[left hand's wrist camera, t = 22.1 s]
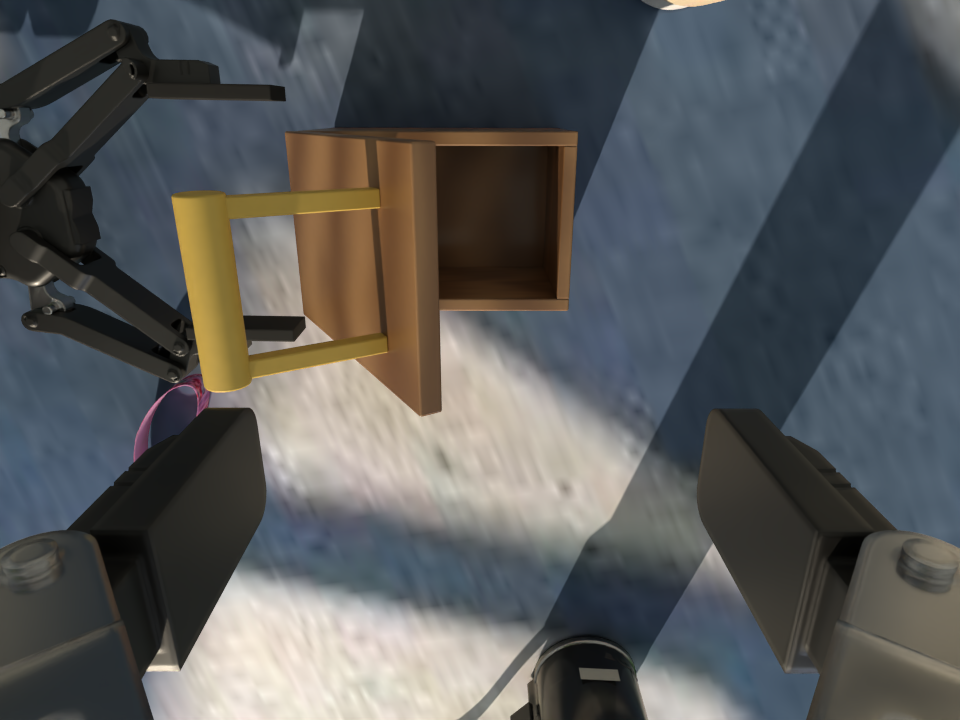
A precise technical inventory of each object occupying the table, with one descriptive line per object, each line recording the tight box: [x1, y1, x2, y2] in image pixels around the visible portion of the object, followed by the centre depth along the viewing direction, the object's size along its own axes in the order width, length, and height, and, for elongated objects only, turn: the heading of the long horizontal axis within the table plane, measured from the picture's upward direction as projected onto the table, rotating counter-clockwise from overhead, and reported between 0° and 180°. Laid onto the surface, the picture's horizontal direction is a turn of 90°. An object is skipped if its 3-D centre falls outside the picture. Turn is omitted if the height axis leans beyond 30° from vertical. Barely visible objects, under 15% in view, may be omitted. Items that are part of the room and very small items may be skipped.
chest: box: [303, 128, 578, 311], centre depth 39 cm, size 15×10×9 cm, turn 90°
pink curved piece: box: [134, 374, 210, 462], centre depth 48 cm, size 11×4×2 cm, turn 156°
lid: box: [172, 131, 442, 416], centre depth 27 cm, size 15×10×8 cm
